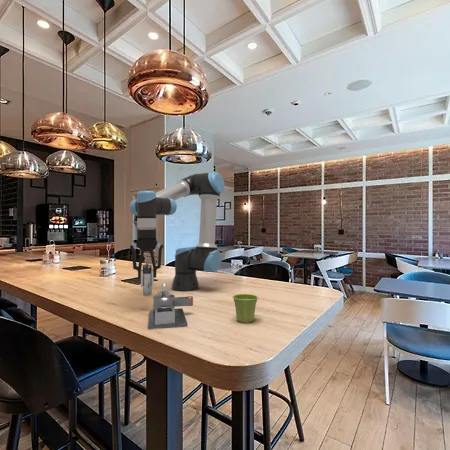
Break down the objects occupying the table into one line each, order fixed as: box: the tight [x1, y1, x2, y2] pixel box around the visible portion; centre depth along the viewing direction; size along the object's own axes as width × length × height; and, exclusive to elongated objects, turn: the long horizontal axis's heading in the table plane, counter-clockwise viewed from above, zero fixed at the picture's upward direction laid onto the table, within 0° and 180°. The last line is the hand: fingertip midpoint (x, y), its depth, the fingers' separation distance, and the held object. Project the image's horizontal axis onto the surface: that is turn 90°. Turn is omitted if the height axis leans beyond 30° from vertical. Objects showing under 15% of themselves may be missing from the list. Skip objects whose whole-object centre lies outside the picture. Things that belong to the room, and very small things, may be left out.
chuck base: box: [147, 307, 188, 330], centre depth 104 cm, size 13×19×5 cm
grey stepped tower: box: [142, 262, 153, 297], centre depth 115 cm, size 4×6×13 cm, turn 14°
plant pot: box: [232, 293, 259, 324], centre depth 103 cm, size 9×9×9 cm
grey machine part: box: [152, 282, 194, 314], centre depth 109 cm, size 15×8×11 cm, turn 104°
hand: (147, 285), depth 115 cm, fingers closed on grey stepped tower, 3 cm apart
